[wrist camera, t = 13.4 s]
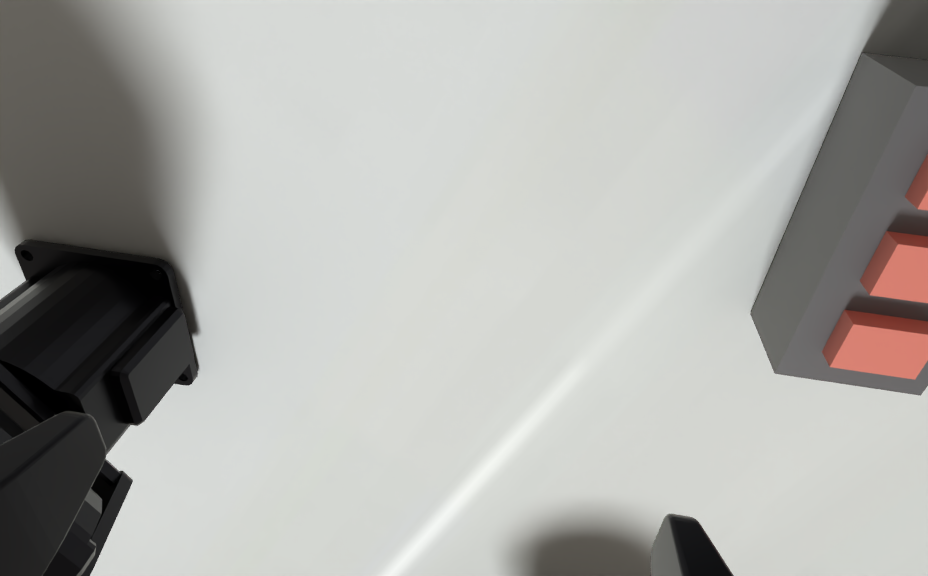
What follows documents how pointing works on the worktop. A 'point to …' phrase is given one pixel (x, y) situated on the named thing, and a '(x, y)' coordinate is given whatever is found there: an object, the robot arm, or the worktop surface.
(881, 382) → the gray power strip
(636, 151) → the worktop surface
